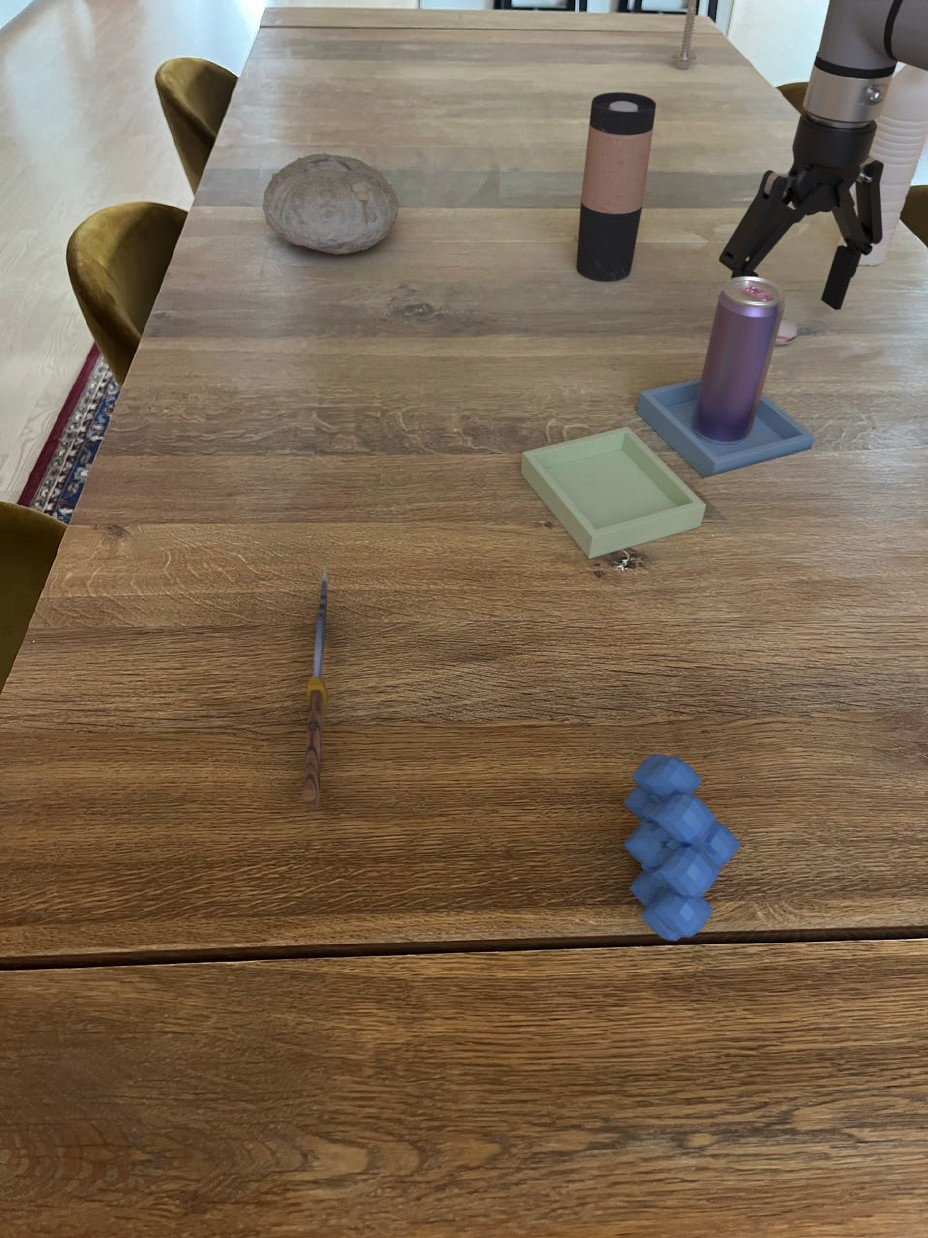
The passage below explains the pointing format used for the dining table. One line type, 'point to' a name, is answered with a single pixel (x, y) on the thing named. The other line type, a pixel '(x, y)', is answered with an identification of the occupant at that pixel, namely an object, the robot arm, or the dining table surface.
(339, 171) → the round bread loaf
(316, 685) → the knife
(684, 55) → the screw
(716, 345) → the beverage can
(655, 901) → the grapes
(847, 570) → the dining table surface
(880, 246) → the water bottle
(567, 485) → the snack tray
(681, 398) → the tray
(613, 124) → the travel mug
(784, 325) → the macaroon
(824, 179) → the robot arm
